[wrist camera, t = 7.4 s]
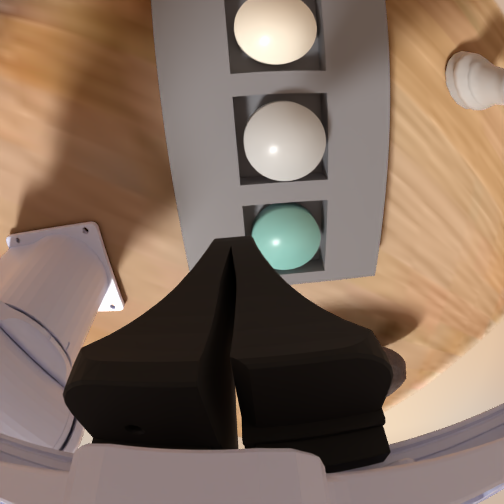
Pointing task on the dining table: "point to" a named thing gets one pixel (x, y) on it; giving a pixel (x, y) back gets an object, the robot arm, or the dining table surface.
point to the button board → (265, 91)
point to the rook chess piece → (474, 81)
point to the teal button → (286, 235)
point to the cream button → (275, 30)
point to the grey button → (284, 140)
